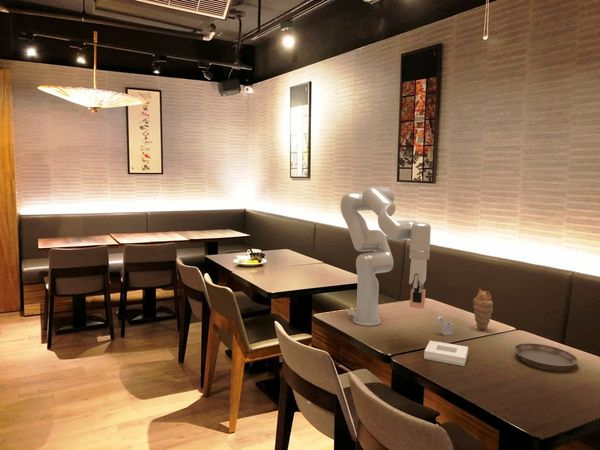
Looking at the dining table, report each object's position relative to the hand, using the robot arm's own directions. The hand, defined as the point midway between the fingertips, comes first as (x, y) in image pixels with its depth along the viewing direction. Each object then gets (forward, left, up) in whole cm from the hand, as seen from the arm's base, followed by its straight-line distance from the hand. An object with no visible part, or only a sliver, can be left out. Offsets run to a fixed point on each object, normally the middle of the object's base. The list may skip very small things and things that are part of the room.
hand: (417, 300), depth 182 cm
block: (0, 0, -2) cm, 2 cm away
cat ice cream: (+23, +32, -18) cm, 43 cm away
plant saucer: (+46, +6, -18) cm, 50 cm away
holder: (+13, -7, -18) cm, 23 cm away
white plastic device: (+9, +18, -18) cm, 27 cm away
